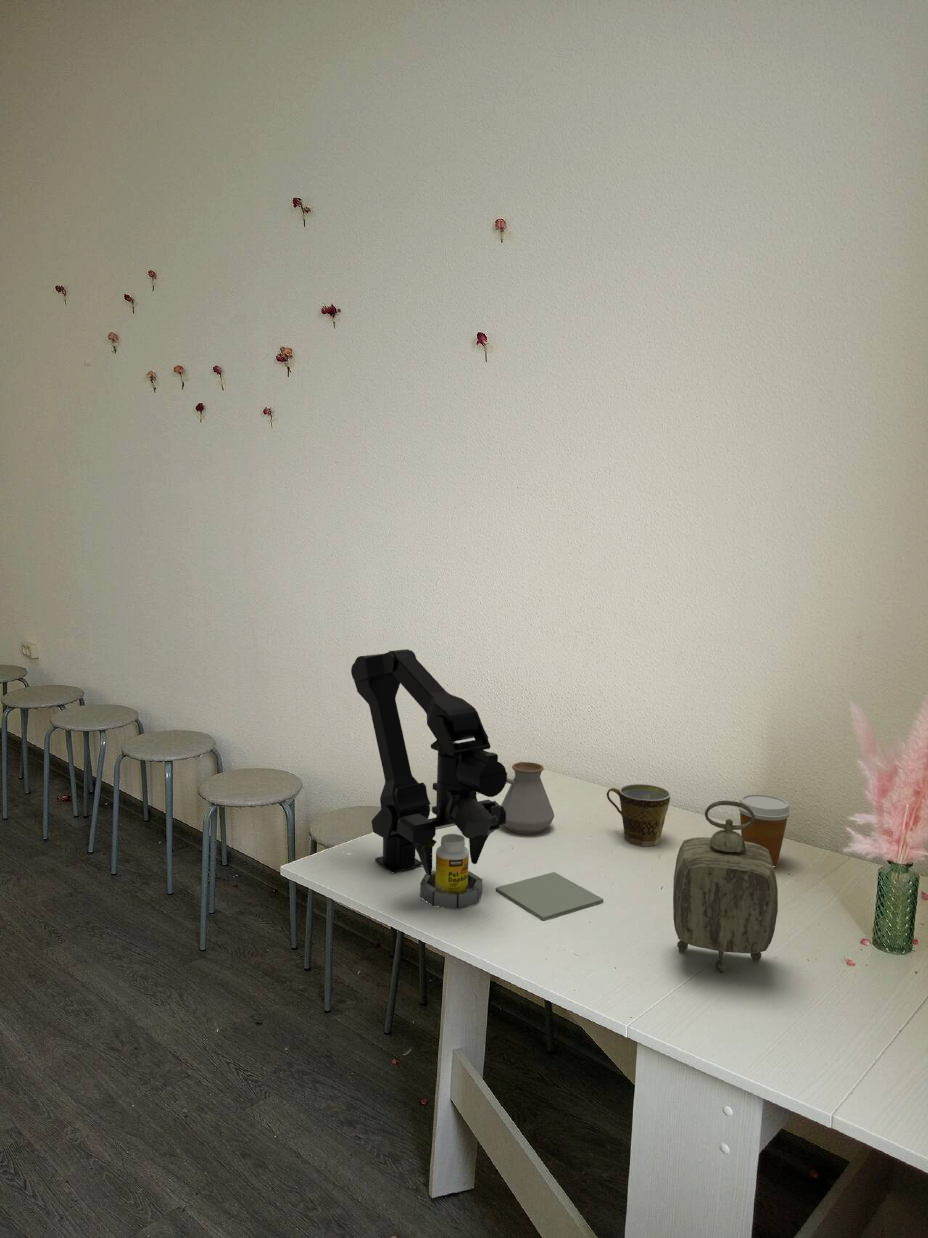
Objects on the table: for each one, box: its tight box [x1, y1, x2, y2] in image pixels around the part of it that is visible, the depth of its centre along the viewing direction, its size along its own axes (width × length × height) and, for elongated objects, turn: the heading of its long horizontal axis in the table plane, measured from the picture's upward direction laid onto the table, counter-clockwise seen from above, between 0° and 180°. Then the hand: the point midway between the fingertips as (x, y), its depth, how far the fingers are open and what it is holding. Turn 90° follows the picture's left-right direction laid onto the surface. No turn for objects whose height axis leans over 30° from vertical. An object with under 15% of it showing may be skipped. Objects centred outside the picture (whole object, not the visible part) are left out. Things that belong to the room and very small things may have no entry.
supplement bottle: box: [435, 833, 470, 892], centre depth 159 cm, size 6×6×10 cm
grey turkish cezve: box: [500, 761, 555, 835], centre depth 189 cm, size 21×12×15 cm, turn 113°
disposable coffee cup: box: [737, 793, 792, 866], centre depth 177 cm, size 10×10×12 cm
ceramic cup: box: [606, 783, 671, 847], centre depth 187 cm, size 13×10×10 cm
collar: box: [419, 870, 483, 910], centre depth 159 cm, size 10×10×2 cm
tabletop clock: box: [672, 800, 779, 973], centre depth 137 cm, size 14×9×25 cm, turn 77°
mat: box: [495, 871, 604, 922], centre depth 160 cm, size 13×13×1 cm
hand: (451, 869), depth 159 cm, fingers open, 9 cm apart
